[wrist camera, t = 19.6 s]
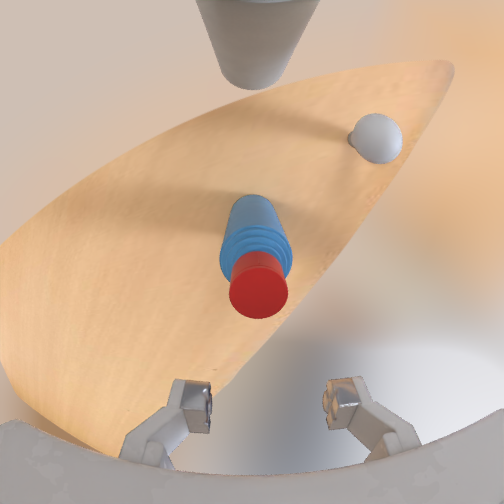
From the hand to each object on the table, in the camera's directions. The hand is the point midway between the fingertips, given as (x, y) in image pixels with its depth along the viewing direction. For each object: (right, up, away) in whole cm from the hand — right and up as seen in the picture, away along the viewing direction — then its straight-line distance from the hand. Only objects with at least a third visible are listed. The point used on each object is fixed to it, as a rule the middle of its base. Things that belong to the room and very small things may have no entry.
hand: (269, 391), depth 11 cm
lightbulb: (+14, +22, +25) cm, 36 cm away
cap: (0, +4, +11) cm, 12 cm away
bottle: (-1, +11, +29) cm, 31 cm away
